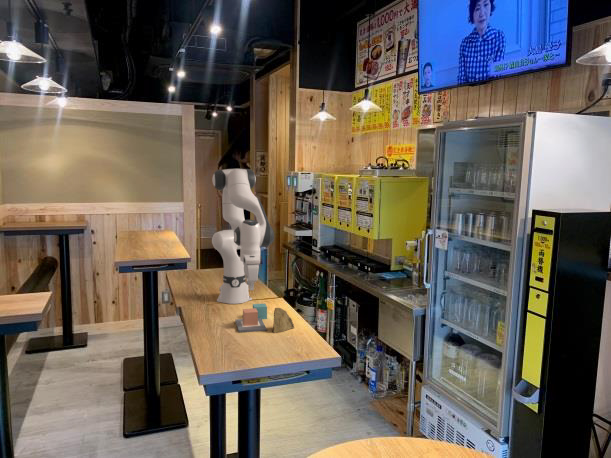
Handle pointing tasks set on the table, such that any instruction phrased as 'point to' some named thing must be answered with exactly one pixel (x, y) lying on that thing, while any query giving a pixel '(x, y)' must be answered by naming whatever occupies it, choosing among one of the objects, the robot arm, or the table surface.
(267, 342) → the table surface
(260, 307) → the teal block
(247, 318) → the terracotta block
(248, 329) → the grey flat plate
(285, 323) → the rock
